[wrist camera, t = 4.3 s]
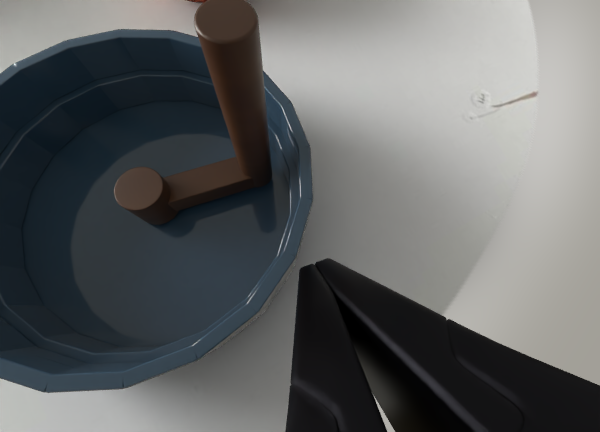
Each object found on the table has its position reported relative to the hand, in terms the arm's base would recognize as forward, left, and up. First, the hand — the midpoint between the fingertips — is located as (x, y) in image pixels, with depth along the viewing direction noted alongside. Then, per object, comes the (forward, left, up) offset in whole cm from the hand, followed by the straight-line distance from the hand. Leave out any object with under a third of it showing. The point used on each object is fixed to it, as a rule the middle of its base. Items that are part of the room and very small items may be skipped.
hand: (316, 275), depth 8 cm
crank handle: (+7, +3, -8) cm, 12 cm away
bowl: (+7, +6, -9) cm, 13 cm away
